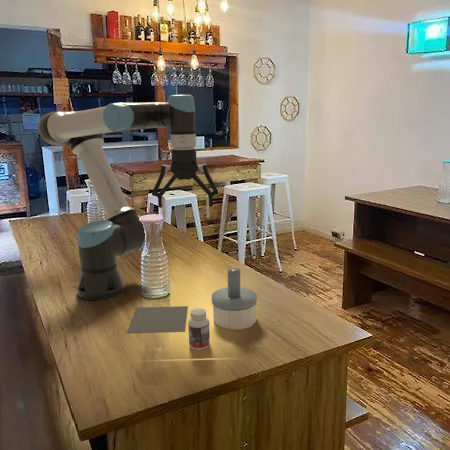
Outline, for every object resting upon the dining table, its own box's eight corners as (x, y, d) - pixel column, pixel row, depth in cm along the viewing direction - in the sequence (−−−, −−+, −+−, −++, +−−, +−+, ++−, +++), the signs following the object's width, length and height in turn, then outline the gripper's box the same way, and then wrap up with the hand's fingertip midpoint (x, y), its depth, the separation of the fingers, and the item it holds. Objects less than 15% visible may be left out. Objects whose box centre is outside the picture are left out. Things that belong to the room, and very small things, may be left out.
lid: (211, 311, 123) (210, 279, 121) (211, 292, 136) (210, 262, 134) (259, 310, 124) (259, 277, 121) (254, 291, 136) (254, 261, 134)
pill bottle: (184, 346, 118) (183, 312, 115) (199, 338, 122) (197, 304, 119) (200, 353, 114) (198, 318, 112) (214, 344, 118) (213, 310, 116)
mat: (126, 334, 124) (126, 333, 124) (136, 308, 140) (136, 307, 139) (184, 332, 124) (184, 331, 124) (188, 307, 140) (187, 306, 140)
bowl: (213, 330, 125) (213, 310, 124) (213, 310, 137) (213, 292, 136) (257, 329, 126) (257, 309, 124) (253, 309, 138) (253, 291, 136)
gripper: (139, 150, 131) (144, 221, 137) (225, 148, 132) (226, 219, 137) (143, 148, 138) (147, 215, 144) (224, 146, 139) (225, 213, 144)
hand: (186, 217), depth 141 cm, fingers open, 13 cm apart
